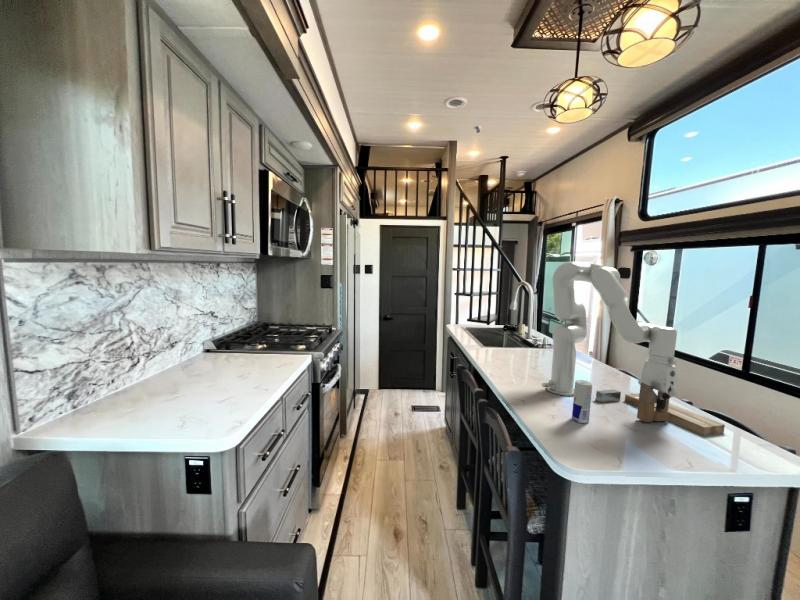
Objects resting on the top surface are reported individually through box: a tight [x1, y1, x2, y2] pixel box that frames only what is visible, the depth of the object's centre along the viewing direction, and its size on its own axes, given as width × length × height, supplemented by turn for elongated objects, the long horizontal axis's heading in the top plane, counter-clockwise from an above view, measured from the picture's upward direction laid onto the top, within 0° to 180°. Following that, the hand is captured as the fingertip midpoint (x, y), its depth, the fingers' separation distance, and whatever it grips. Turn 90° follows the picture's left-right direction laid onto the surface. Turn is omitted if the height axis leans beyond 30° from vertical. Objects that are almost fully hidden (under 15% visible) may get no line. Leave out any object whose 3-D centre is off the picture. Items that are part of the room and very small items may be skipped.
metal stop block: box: [595, 389, 622, 403], centre depth 143 cm, size 10×3×4 cm, turn 105°
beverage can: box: [571, 379, 593, 424], centre depth 122 cm, size 6×6×15 cm
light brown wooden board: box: [624, 392, 726, 437], centre depth 130 cm, size 10×30×3 cm, turn 15°
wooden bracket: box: [636, 382, 670, 423], centre depth 123 cm, size 4×11×18 cm, turn 99°
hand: (654, 406), depth 123 cm, fingers closed on wooden bracket, 3 cm apart
